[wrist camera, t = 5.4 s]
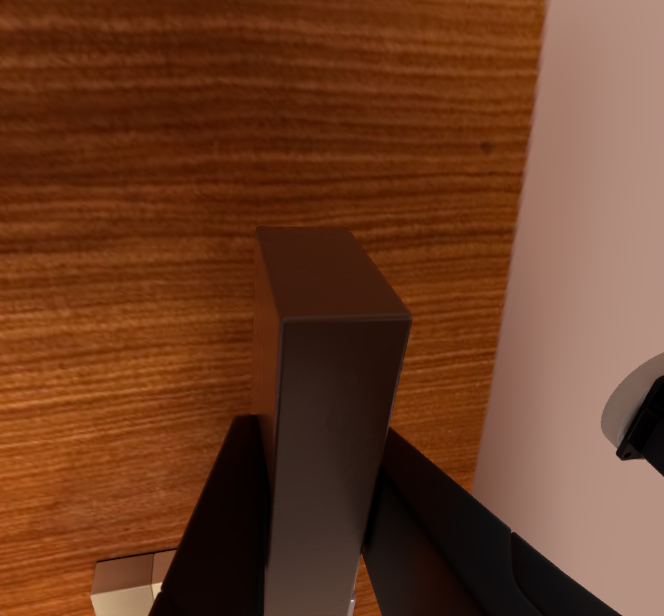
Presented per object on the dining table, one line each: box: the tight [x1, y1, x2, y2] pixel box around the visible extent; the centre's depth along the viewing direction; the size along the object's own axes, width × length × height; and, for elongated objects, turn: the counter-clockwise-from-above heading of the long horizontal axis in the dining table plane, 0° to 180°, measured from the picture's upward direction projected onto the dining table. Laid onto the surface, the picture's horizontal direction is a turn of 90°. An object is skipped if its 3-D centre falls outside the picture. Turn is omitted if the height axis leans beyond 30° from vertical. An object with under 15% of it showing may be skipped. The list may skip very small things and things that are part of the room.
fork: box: [251, 226, 412, 616], centre depth 10 cm, size 4×15×3 cm, turn 174°
